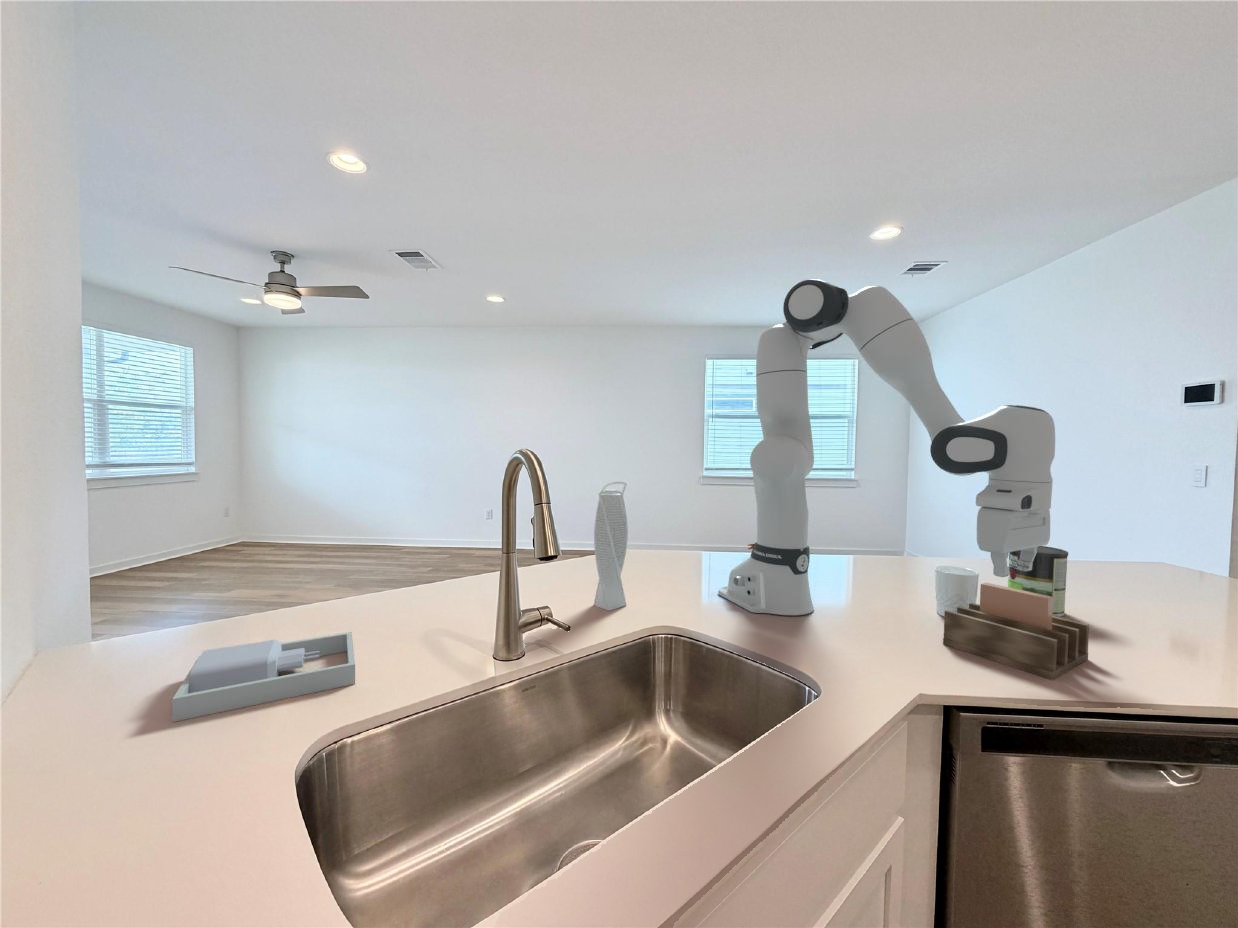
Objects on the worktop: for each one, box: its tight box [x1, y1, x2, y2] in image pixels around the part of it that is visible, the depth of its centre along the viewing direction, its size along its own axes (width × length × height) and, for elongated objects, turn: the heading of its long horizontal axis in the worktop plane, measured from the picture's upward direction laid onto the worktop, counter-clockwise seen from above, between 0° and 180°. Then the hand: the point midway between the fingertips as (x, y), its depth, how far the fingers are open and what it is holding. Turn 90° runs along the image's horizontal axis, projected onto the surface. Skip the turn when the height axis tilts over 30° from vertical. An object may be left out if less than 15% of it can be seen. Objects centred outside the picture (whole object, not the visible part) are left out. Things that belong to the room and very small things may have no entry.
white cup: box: [934, 565, 980, 617], centre depth 106 cm, size 8×8×10 cm
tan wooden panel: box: [979, 582, 1053, 630], centre depth 87 cm, size 10×2×10 cm, turn 31°
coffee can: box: [1007, 545, 1069, 618], centre depth 111 cm, size 10×10×14 cm
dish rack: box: [942, 603, 1090, 681], centre depth 87 cm, size 16×15×6 cm
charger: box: [189, 639, 320, 693], centre depth 74 cm, size 5×9×15 cm
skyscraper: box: [593, 481, 629, 611], centre depth 110 cm, size 8×8×28 cm
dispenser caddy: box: [171, 631, 356, 723], centre depth 74 cm, size 15×21×3 cm
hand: (1012, 573), depth 87 cm, fingers open, 8 cm apart
